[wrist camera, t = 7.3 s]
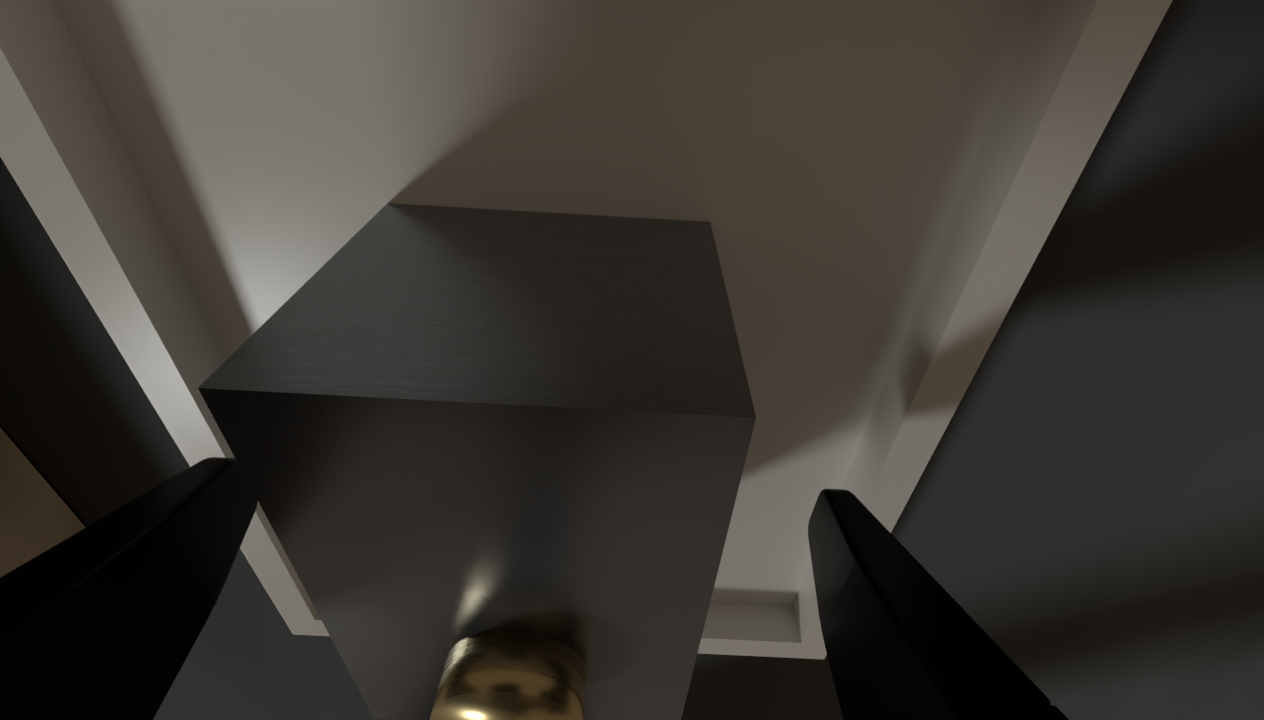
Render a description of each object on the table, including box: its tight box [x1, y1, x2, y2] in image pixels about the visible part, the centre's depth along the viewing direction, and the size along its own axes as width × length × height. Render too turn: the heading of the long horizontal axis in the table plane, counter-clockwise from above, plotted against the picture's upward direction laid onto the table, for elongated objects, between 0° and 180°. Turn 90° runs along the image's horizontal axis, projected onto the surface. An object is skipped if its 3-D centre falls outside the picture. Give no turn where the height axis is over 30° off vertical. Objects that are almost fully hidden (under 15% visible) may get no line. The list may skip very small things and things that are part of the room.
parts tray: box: [0, 0, 1173, 659], centre depth 10 cm, size 16×14×2 cm
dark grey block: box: [198, 203, 756, 720], centre depth 9 cm, size 7×5×5 cm
